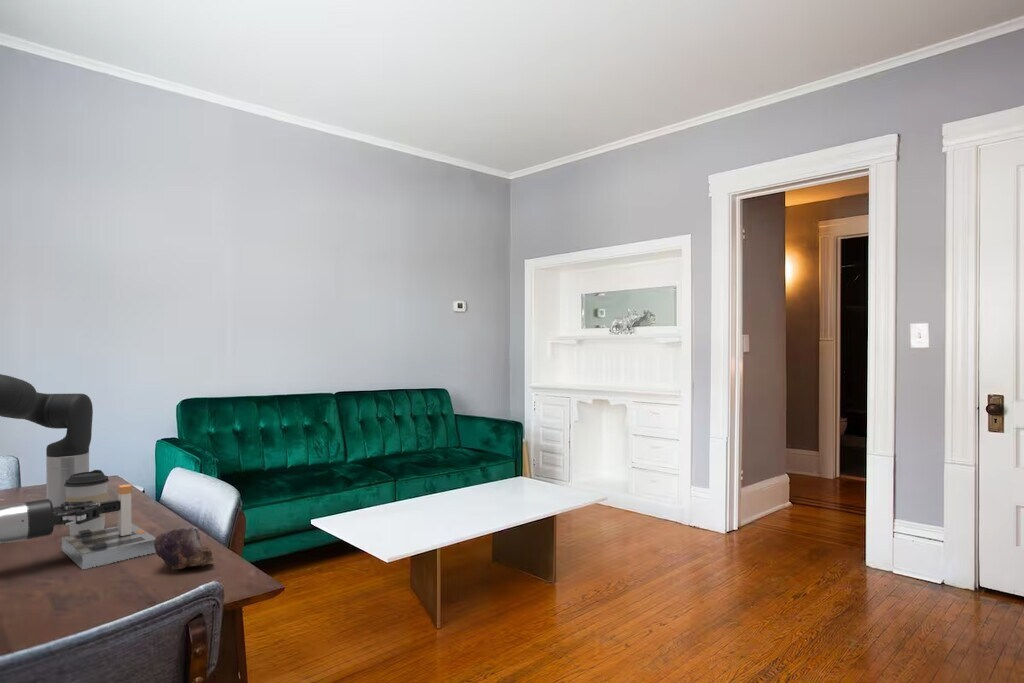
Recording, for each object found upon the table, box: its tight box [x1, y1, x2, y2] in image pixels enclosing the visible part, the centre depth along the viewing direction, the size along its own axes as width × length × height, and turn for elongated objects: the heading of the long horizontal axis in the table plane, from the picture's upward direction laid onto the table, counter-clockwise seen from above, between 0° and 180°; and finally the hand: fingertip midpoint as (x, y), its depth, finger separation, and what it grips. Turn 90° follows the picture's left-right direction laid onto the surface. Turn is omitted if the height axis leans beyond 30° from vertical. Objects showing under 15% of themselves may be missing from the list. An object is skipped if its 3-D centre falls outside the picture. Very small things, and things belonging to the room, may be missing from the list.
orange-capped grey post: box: [117, 484, 133, 536], centre depth 140 cm, size 2×2×11 cm
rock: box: [154, 526, 215, 571], centre depth 128 cm, size 12×9×10 cm
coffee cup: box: [64, 469, 110, 535], centre depth 151 cm, size 9×9×15 cm
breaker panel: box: [61, 522, 156, 571], centre depth 138 cm, size 18×14×4 cm
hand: (119, 504), depth 139 cm, fingers closed
